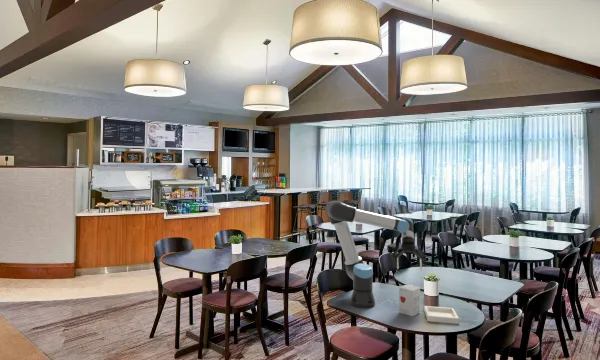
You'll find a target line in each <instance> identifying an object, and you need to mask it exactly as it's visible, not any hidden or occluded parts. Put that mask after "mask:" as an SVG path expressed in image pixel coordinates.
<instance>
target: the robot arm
mask: <svg viewBox="0 0 600 360" xmlns="http://www.w3.org/2000/svg"><path fill="white" fill-rule="evenodd" d="M325 213H326V215H327V217H328V219H329V222H330V224H331V225H332V226H334V228H335V232H336V235H337V238H338V240H339V244H340V246H341V250H342V253H343V255H344V259H345V261H344V266H345V273H346V275H347V276H348V277H349V278H350V279H351V280H352V281H353V282H352V283H353V284H352V286H353V289H352V293H351V296H350V299H349V303H350V305H351V306H353V307H356V308H360V309H361V308H362V309H366V308H367V309H368V308H373V307H375V306H376V300H375V296H374V293H373V280H374V279H373V275H374V272H373V267H372V266H371V265H370V264H367V263H364V261H363V258H362V256H359V253H358V250H357V247H356V244H355V241H354V239H353V236H352V232H351V229H350V227H349V224H348V223H353V222H355V223H360V224H364V225H370V226H375V227H379V228H382V229H388V230H391V231H392V230H393V231H396V232H400V233H401V244H399V243H397V244H396V248H395V250H394V251H393V253H392V255H391V259H394V263H395V265H396V269H397V270H399V268H400V266H399V258H400V257H401V256H402V255H403V254H404V253H408V254H409V253H412V254H414V255H415V256H416V257H417V258H418V259H419V269H420V271H422V270H423V265H424V261H426V260H427V255H426V254H425V253H424V251H423V250H422V248H421V245H420V244H418V245H415V235H414V222H413V219H412V218H410V217H403V218H398V217H396V216H392V215H384V214H379V213H376V212H375V213H374V212H370V211H366V210H362V209H358V208H357V207H356V206H351V205H348V204H347V203H344V202H342V201H340V200H331V201H329V202H328V203H327V205H326V206H325ZM400 249H401V250H400ZM399 250H400V251H399ZM398 251H399V252H398Z"/></svg>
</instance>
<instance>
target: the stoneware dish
mask: <svg viewBox="0 0 600 360" xmlns="http://www.w3.org/2000/svg"><path fill="white" fill-rule="evenodd" d="M423 307H424V310H423V311H424V314H425V317H426V320H427V322H433V323H442V324H453V325H454V324H457V325H458V324H460V317H459V316H458V314H457V312H456V310H455V308H453V307H444V306H442V307H441V306H428V305H424V306H423Z"/></svg>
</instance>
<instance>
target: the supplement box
mask: <svg viewBox="0 0 600 360" xmlns="http://www.w3.org/2000/svg"><path fill="white" fill-rule="evenodd" d="M398 289H399V291H398V294H399V296H398V313H399V314H403V315H406V316H409V317H414V316H416V315H418V314H419V313H420V308H421V307H420V305H421V287H420V286H415V285H412V284H404V285H402V286H399V288H398Z"/></svg>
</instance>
